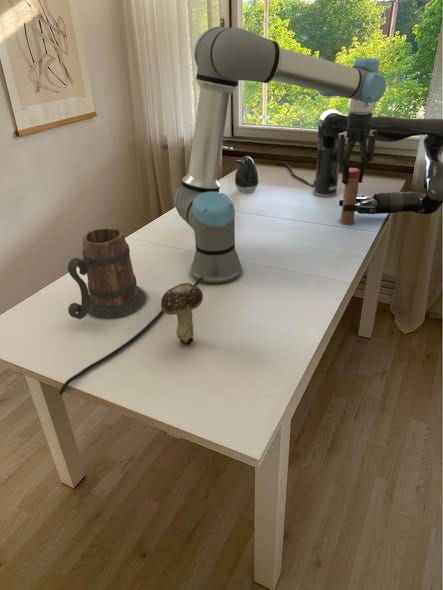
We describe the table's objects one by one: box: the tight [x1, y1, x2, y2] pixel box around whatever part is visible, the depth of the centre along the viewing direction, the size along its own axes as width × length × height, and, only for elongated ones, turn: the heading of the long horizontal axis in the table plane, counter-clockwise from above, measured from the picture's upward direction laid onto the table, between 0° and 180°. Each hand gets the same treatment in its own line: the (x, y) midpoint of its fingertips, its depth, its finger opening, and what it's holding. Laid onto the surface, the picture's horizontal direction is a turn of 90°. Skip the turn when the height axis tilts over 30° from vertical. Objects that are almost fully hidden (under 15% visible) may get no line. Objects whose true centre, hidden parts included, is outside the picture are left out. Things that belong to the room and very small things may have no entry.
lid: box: [348, 167, 361, 177], centre depth 154 cm, size 5×5×2 cm
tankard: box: [67, 227, 147, 320], centre depth 116 cm, size 24×17×20 cm
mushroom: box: [160, 282, 204, 346], centre depth 103 cm, size 9×9×15 cm
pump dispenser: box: [234, 155, 259, 194], centre depth 191 cm, size 10×10×15 cm
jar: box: [340, 177, 360, 225], centre depth 159 cm, size 5×5×19 cm
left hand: (351, 182), depth 156 cm, fingers closed on lid, 5 cm apart
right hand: (341, 205), depth 160 cm, fingers closed on jar, 4 cm apart
